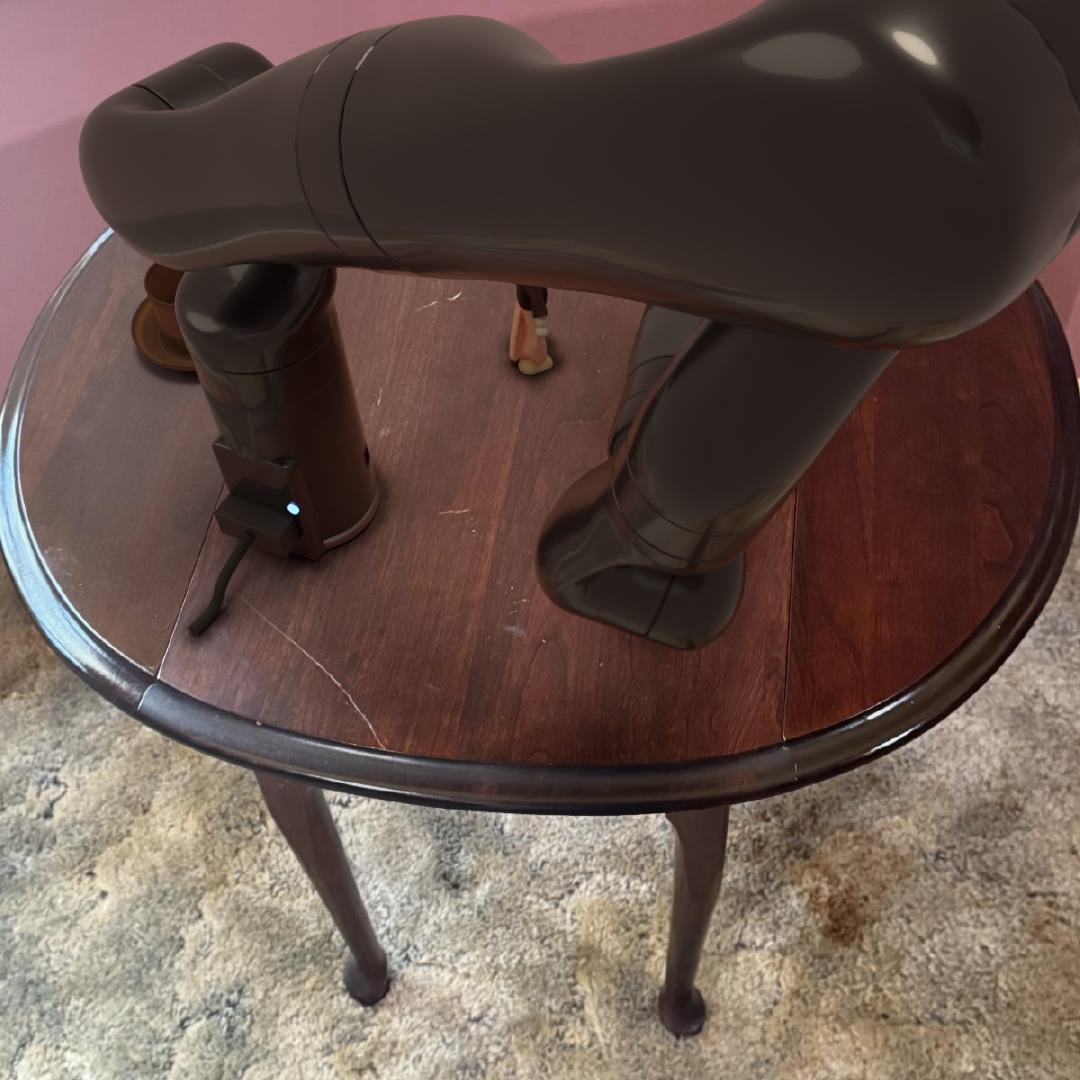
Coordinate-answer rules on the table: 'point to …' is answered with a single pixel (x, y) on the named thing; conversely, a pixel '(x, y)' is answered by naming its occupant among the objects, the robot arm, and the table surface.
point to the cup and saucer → (161, 321)
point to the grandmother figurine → (530, 330)
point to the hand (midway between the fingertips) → (741, 188)
